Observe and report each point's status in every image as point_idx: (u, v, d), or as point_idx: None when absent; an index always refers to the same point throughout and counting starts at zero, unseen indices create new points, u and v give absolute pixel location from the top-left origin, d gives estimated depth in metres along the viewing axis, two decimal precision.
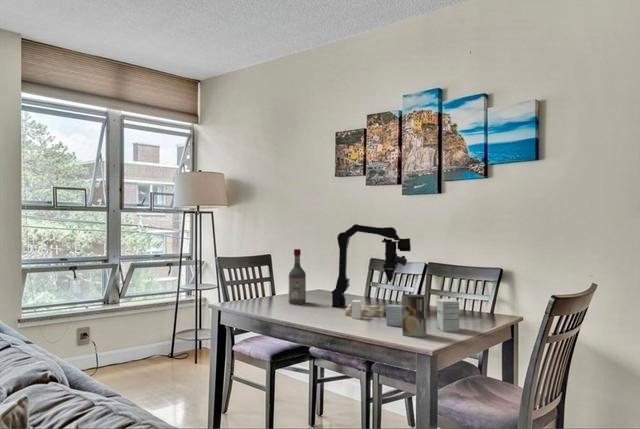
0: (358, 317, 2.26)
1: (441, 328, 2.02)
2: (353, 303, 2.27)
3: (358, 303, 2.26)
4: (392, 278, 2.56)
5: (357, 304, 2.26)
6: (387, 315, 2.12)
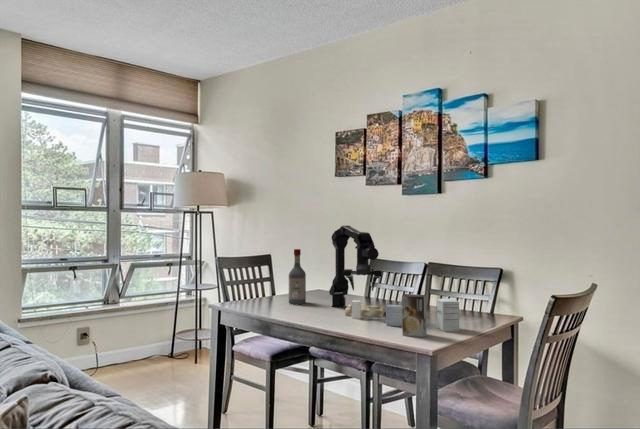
0: (358, 317, 2.26)
1: (441, 328, 2.02)
2: (353, 303, 2.27)
3: (358, 303, 2.26)
4: None
5: (357, 304, 2.26)
6: (387, 315, 2.12)
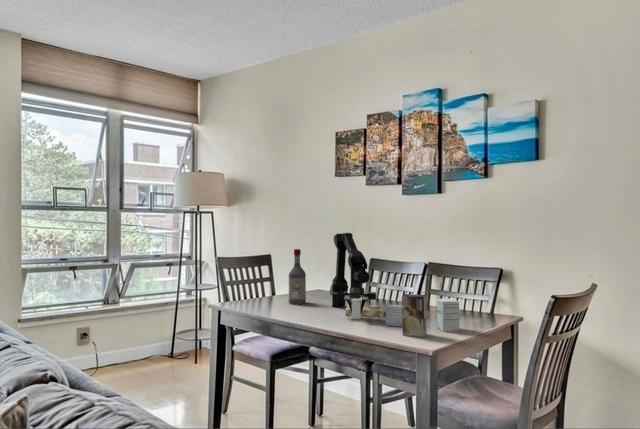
0: (358, 317, 2.26)
1: (441, 328, 2.02)
2: (353, 303, 2.27)
3: (358, 303, 2.26)
4: None
5: (357, 304, 2.26)
6: (387, 315, 2.12)
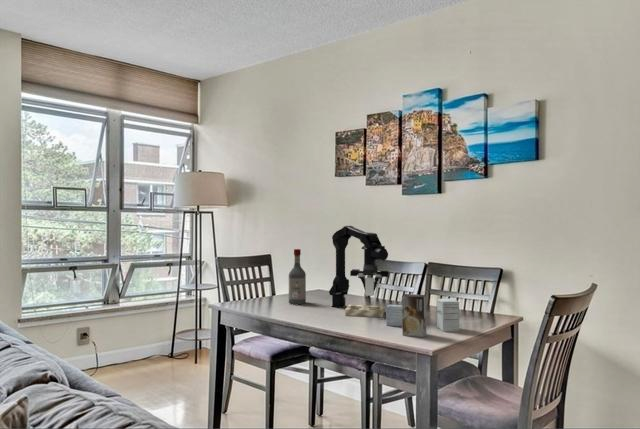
0: (371, 294, 2.33)
1: (441, 328, 2.02)
2: (366, 280, 2.34)
3: (371, 280, 2.33)
4: None
5: (370, 281, 2.33)
6: (387, 315, 2.12)
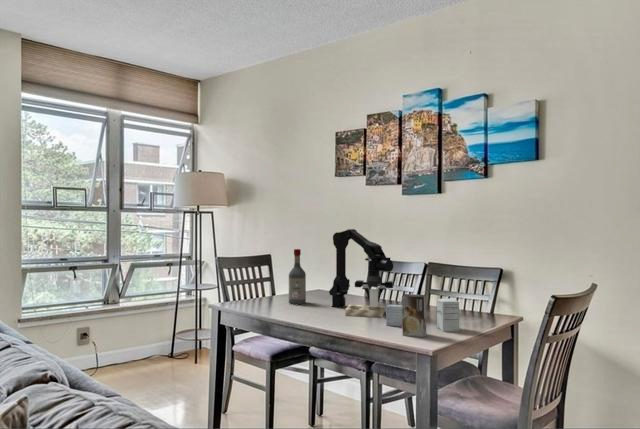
0: (376, 305, 2.35)
1: (441, 328, 2.02)
2: (371, 291, 2.36)
3: (376, 291, 2.35)
4: None
5: (375, 292, 2.35)
6: (387, 315, 2.12)
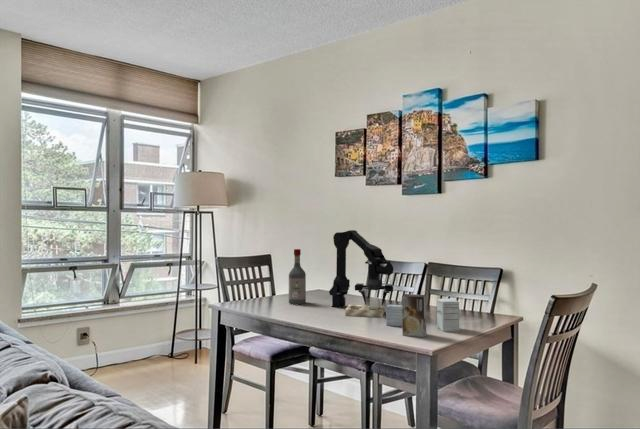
0: None
1: (441, 328, 2.02)
2: (371, 300, 2.36)
3: (376, 300, 2.35)
4: None
5: (375, 301, 2.35)
6: (387, 315, 2.12)
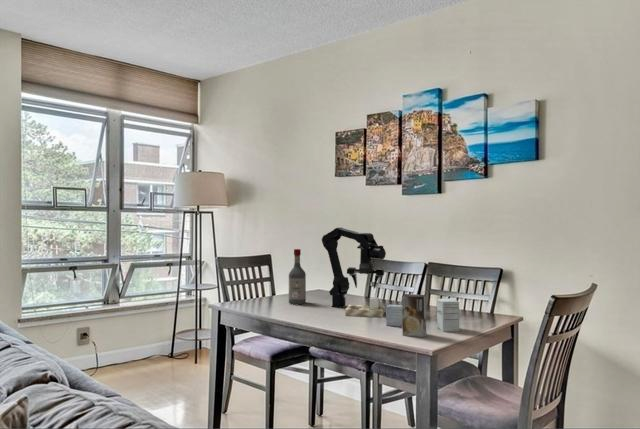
0: None
1: (441, 328, 2.02)
2: (371, 300, 2.36)
3: (376, 300, 2.35)
4: None
5: (375, 301, 2.35)
6: (387, 315, 2.12)
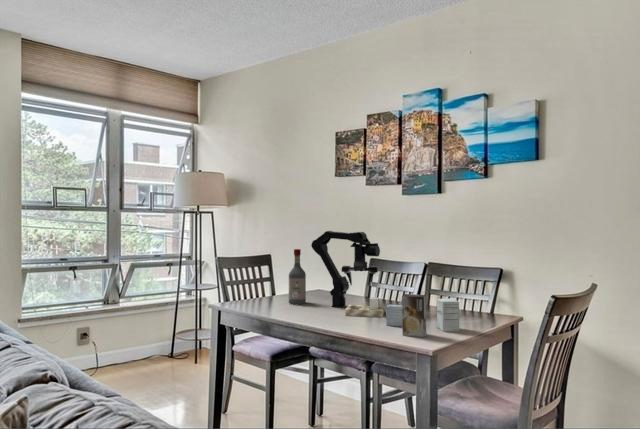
0: None
1: (441, 328, 2.02)
2: (371, 300, 2.36)
3: (376, 300, 2.35)
4: (368, 284, 2.50)
5: (375, 301, 2.35)
6: (387, 315, 2.12)
